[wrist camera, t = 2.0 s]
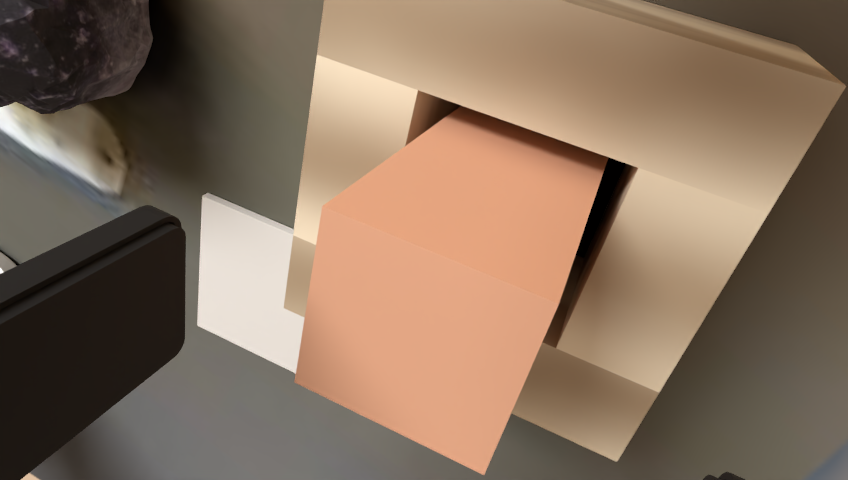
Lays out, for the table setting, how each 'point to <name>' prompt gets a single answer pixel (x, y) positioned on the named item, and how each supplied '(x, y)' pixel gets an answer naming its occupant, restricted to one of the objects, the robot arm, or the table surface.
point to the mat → (247, 281)
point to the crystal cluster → (70, 50)
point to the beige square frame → (592, 130)
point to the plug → (445, 279)
